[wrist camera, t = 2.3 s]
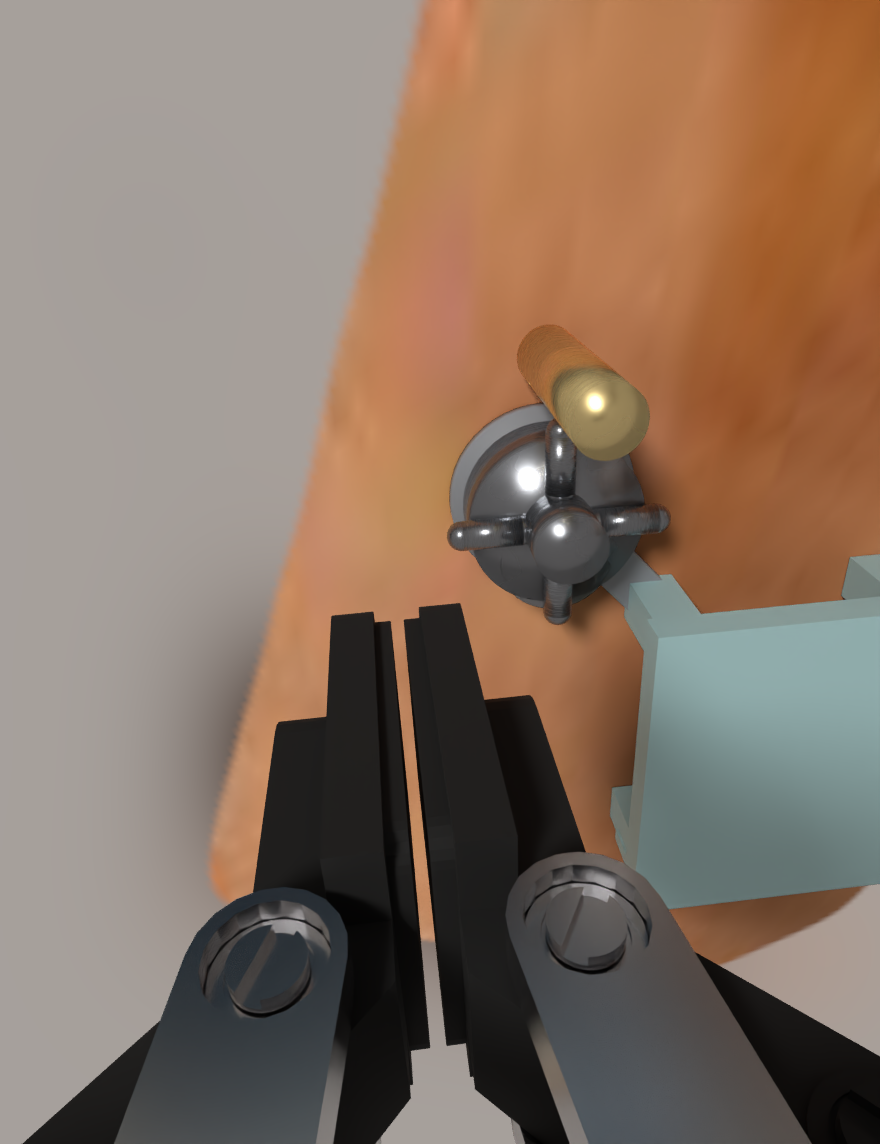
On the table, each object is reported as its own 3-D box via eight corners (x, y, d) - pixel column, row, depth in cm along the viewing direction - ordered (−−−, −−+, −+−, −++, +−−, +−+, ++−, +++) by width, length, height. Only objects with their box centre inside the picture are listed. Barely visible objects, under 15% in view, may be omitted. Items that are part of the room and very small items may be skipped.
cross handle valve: (430, 333, 25) (455, 395, 18) (662, 316, 25) (764, 370, 19) (446, 601, 30) (470, 723, 23) (641, 583, 30) (717, 697, 24)
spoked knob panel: (444, 410, 27) (462, 460, 22) (952, 369, 28) (1063, 409, 23) (467, 848, 37) (482, 941, 33) (837, 806, 38) (900, 891, 34)
